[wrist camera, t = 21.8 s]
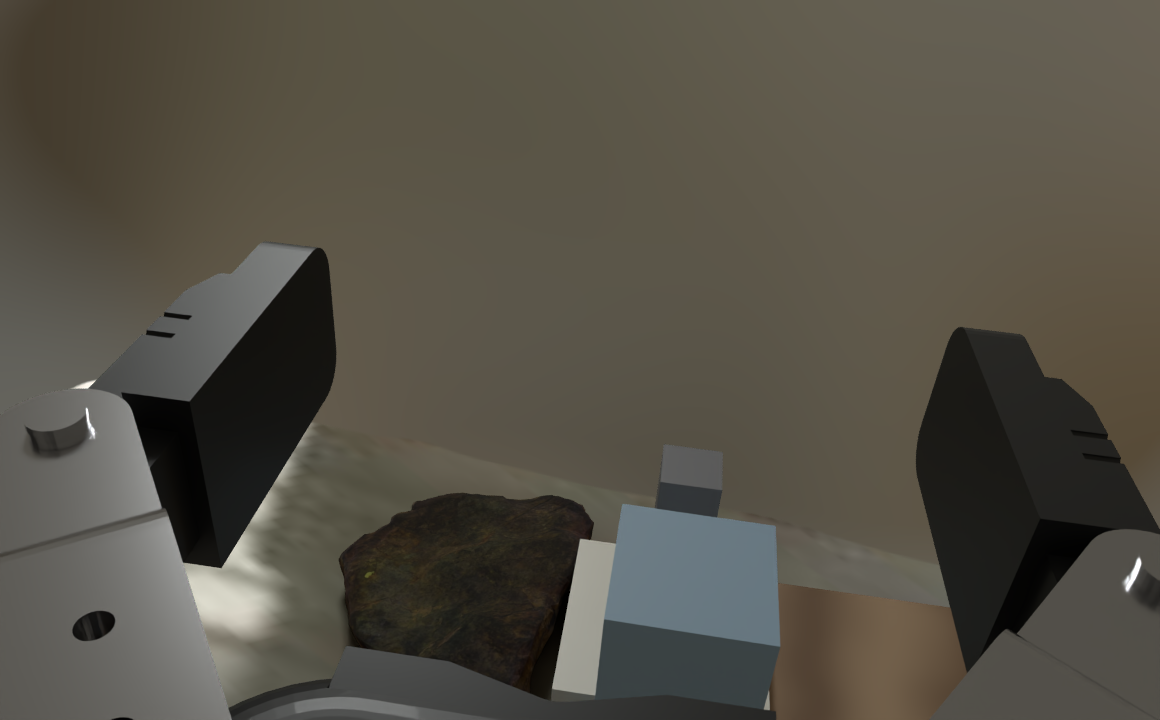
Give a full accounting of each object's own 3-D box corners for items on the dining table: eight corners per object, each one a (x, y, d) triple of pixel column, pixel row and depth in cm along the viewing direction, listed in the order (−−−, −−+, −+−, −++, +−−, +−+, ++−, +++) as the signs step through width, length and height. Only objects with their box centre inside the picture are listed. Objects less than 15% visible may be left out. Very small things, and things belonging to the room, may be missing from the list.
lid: (551, 701, 40) (564, 527, 35) (579, 550, 48) (593, 388, 43) (767, 734, 40) (814, 562, 34) (761, 576, 47) (799, 415, 42)
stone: (478, 832, 38) (480, 787, 37) (225, 748, 41) (216, 703, 39) (598, 542, 53) (602, 502, 51) (406, 493, 55) (405, 452, 54)
